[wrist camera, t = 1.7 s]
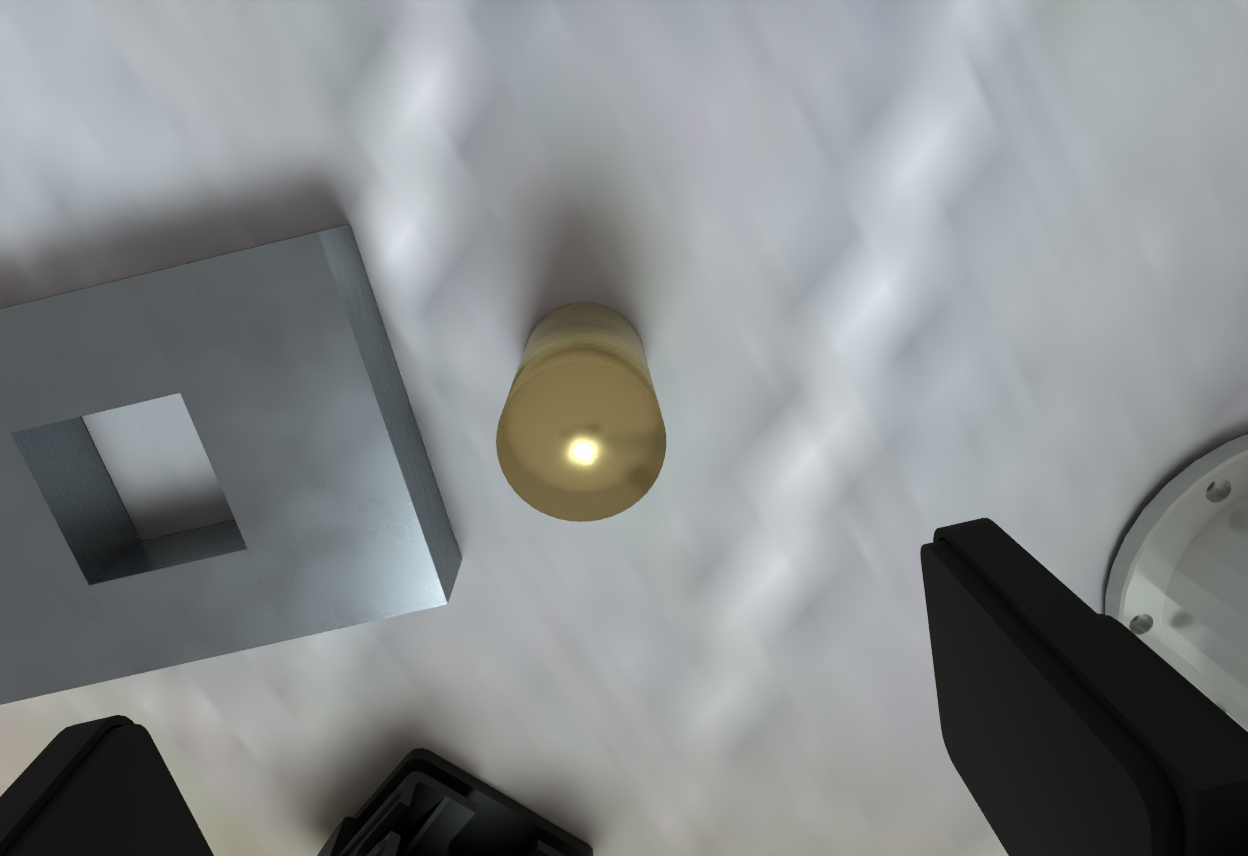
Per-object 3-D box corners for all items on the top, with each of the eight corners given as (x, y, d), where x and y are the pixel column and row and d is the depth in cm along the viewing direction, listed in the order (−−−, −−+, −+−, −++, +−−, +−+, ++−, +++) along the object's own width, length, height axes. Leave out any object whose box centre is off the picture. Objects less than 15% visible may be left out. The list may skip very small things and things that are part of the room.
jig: (349, 224, 24) (318, 231, 22) (462, 559, 28) (447, 604, 25) (-136, 342, 25) (-229, 365, 22) (38, 655, 29) (-22, 709, 26)
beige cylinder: (629, 290, 26) (646, 343, 18) (656, 405, 27) (681, 501, 19) (509, 318, 26) (475, 384, 18) (541, 431, 27) (522, 537, 19)
